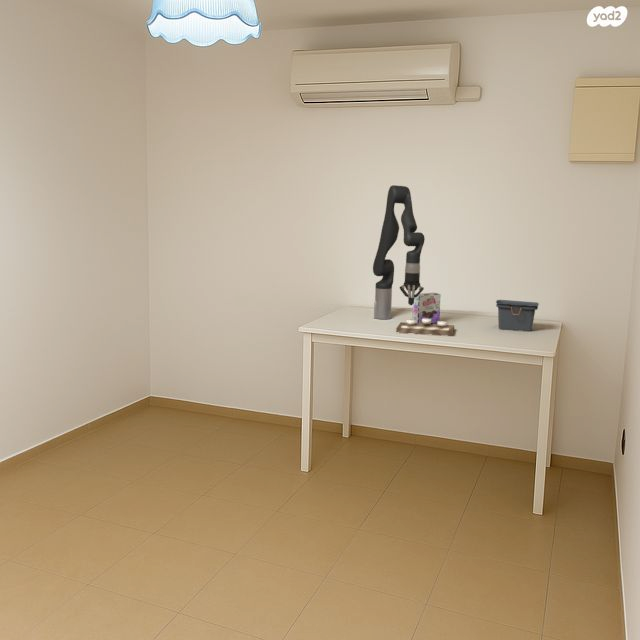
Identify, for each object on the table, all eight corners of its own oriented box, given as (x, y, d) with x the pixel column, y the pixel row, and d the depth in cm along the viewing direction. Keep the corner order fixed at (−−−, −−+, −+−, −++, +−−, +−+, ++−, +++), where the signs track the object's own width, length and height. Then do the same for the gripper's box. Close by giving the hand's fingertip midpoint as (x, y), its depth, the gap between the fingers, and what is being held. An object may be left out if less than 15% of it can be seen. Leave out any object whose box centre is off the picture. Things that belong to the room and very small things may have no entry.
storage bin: (536, 328, 356) (538, 301, 353) (536, 333, 341) (538, 306, 339) (495, 325, 362) (497, 299, 360) (493, 330, 348) (495, 303, 345)
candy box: (417, 325, 362) (418, 294, 359) (412, 323, 367) (413, 293, 364) (439, 323, 367) (440, 293, 364) (434, 321, 372) (435, 292, 369)
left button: (405, 324, 347) (405, 320, 347) (406, 322, 352) (406, 319, 351) (414, 325, 346) (415, 321, 346) (416, 323, 351) (416, 319, 350)
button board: (396, 332, 340) (396, 327, 340) (400, 326, 356) (400, 321, 355) (452, 336, 334) (452, 330, 333) (454, 330, 349) (454, 324, 348)
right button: (436, 326, 343) (437, 322, 343) (437, 324, 348) (437, 320, 348) (446, 326, 342) (446, 322, 342) (447, 325, 347) (447, 321, 346)
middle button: (421, 323, 345) (421, 319, 345) (422, 321, 350) (422, 318, 349) (430, 323, 344) (430, 320, 344) (431, 322, 348) (431, 318, 348)
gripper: (426, 271, 346) (424, 304, 349) (400, 270, 349) (399, 302, 352) (424, 273, 339) (423, 307, 342) (398, 271, 342) (397, 305, 345)
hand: (410, 304), depth 347 cm, fingers closed
